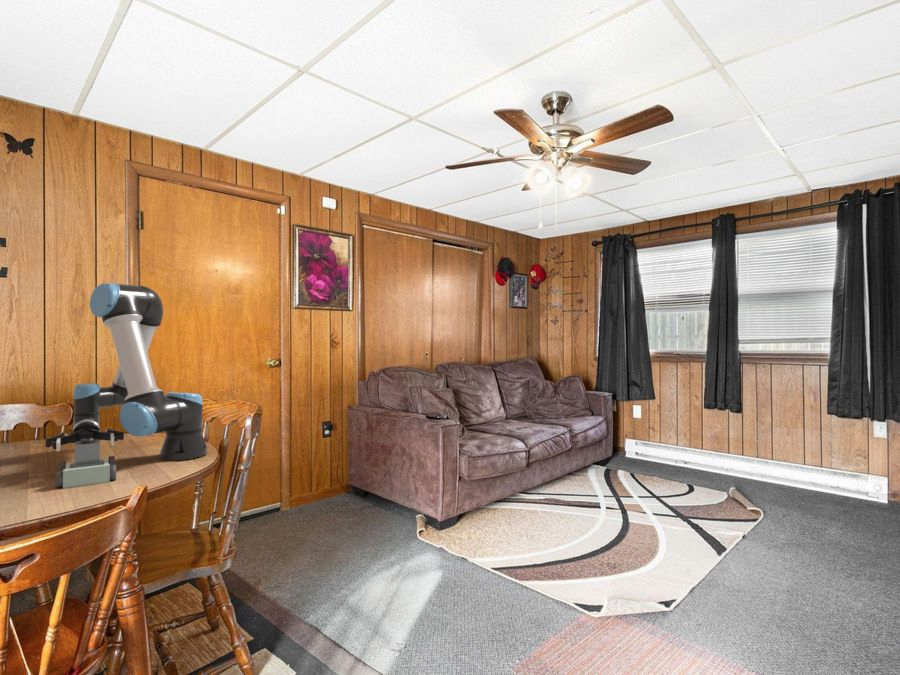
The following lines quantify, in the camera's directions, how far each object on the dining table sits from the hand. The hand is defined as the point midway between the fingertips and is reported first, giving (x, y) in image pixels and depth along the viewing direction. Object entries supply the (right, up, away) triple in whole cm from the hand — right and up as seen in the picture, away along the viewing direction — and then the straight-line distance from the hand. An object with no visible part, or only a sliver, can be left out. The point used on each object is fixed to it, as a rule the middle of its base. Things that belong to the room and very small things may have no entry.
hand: (86, 444), depth 151 cm
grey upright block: (+1, -8, -1) cm, 8 cm away
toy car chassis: (+1, -10, -1) cm, 10 cm away
